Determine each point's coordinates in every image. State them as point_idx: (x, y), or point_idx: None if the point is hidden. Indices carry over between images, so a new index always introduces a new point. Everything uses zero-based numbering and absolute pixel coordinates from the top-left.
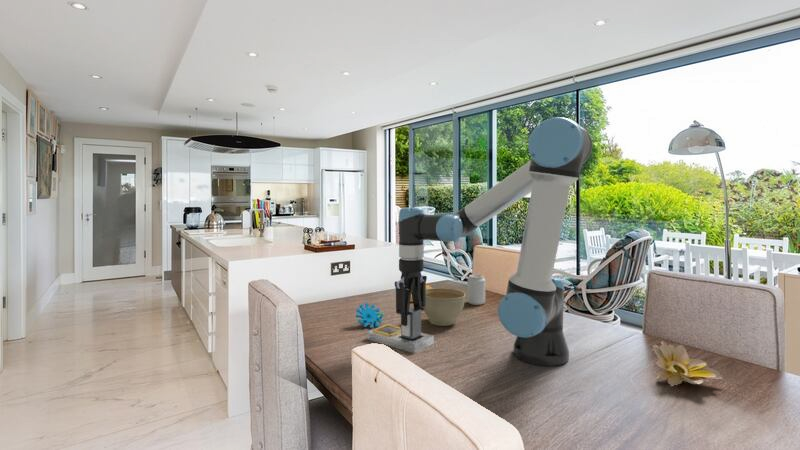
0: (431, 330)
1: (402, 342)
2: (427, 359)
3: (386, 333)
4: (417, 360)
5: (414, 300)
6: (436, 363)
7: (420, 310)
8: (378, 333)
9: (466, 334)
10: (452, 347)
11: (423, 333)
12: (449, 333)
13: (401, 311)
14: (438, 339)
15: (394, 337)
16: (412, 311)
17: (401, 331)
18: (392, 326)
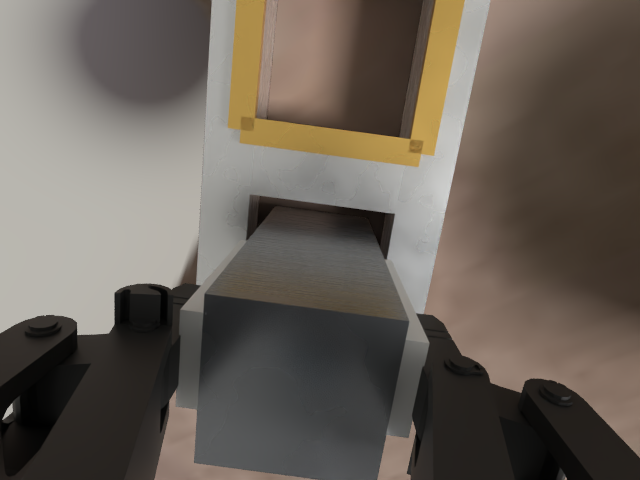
0: (636, 244)
1: (199, 265)
2: (179, 419)
3: (248, 83)
4: None
5: (424, 478)
6: (163, 469)
7: (358, 477)
8: (237, 2)
9: (636, 454)
10: (394, 459)
11: (418, 313)
12: (617, 367)
13: (4, 423)
14: (480, 354)
15: (233, 176)
16: (236, 440)
17: (259, 227)
18: (434, 21)
